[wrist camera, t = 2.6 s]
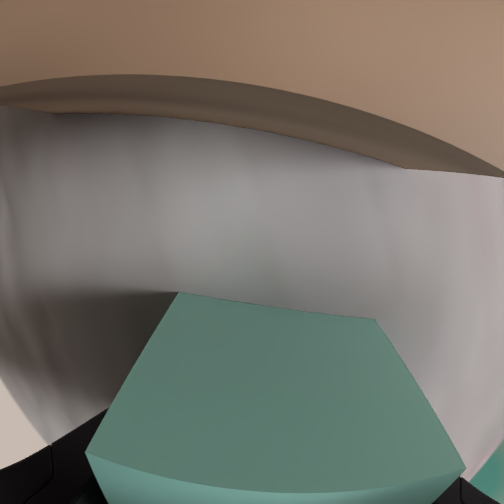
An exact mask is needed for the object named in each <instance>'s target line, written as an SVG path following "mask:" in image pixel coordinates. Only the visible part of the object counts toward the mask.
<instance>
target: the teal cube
mask: <svg viewBox="0 0 504 504" xmlns="http://www.w3.org/2000/svg"><path fill="white" fill-rule="evenodd" d="M85 453H86V456H87V458H88V461H89V463H90V466H91V468H92V470H93V472H94V475H95V477H96V479H97V481H98V484H99V486H100V488H101V490H102V492H103V494H104V496H105V498H106V500H107V502H108V504H432V503H433V502H434V501H435V500H436V499H437V498H438V497H439V496H440V495H441V494H442V493H443V492H444V491H445V490H446V489H447V488H448V487H449V486H450V485H451V484H452V483H453V482H454V481H455V480H456V479H457V478H458V477H459V476H460V475H461V474H462V473H463V472H464V470H465V469H466V467H465V465H464V463H463V461H462V459H461V457H460V455H459V454H458V452H457V450H456V448H455V446H454V445H453V443H452V441H451V439H450V438H449V436H448V434H447V432H446V431H445V429H444V427H443V425H442V424H441V422H440V420H439V419H438V417H437V415H436V413H435V412H434V410H433V408H432V407H431V405H430V403H429V402H428V400H427V399H426V397H425V395H424V394H423V392H422V390H421V389H420V387H419V386H418V384H417V382H416V381H415V379H414V378H413V376H412V374H411V373H410V371H409V370H408V368H407V367H406V365H405V364H404V362H403V360H402V359H401V357H400V356H399V354H398V353H397V351H396V350H395V348H394V347H393V345H392V344H391V342H390V341H389V339H388V338H387V336H386V335H385V333H384V332H383V330H382V329H381V327H380V326H379V324H378V323H377V322H376V320H375V319H366V318H356V317H347V316H338V315H330V314H321V313H313V312H305V311H298V310H290V309H283V308H276V307H269V306H262V305H255V304H248V303H242V302H236V301H229V300H223V299H217V298H211V297H205V296H199V295H194V294H188V293H182V292H178V294H177V296H176V297H175V299H174V300H173V302H172V304H171V305H170V307H169V308H168V310H167V312H166V313H165V315H164V316H163V318H162V320H161V321H160V323H159V325H158V326H157V328H156V329H155V331H154V333H153V334H152V336H151V338H150V339H149V341H148V343H147V344H146V346H145V348H144V349H143V351H142V353H141V354H140V356H139V358H138V359H137V361H136V363H135V364H134V366H133V368H132V369H131V371H130V373H129V375H128V376H127V378H126V380H125V381H124V383H123V385H122V387H121V388H120V390H119V392H118V393H117V395H116V397H115V399H114V400H113V402H112V404H111V406H110V407H109V409H108V411H107V413H106V415H105V416H104V418H103V420H102V422H101V424H100V425H99V427H98V429H97V431H96V433H95V434H94V436H93V438H92V440H91V442H90V444H89V445H88V447H87V449H86V451H85Z"/></svg>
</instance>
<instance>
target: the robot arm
mask: <svg viewBox="0 0 504 504" xmlns="http://www.w3.org/2000/svg"><path fill="white" fill-rule="evenodd" d="M108 409H109V408H107V409H106V410H104V411H103V412H101V413H99V414H98V415H96V416H95V417H93V418H92V419H90V420H89V421H87V422H85V423H84V424H82V425H81V426H79V427H78V428H76V429H74V430H73V431H71V432H70V433H68V434H66V435H65V436H63V437H61V438H60V439H58V440H57V441H55V442H53V443H52V444H51V445H48V446H46V447H45V448H43V449H41V450H40V451H38V452H36V453H34V454H32V455H31V456H29V457H27V458H25V459H23V460H21V461H19V462H17V463H14V464H12V465H10V466H8V467H5V468H3V469H0V504H108V502H107V500H106V498H105V496H104V494H103V492H102V490H101V488H100V486H99V484H98V481H97V479H96V477H95V475H94V472H93V470H92V468H91V466H90V463H89V461H88V458H87V456H86V453H85V451H86V449H87V447H88V445H89V444H90V442H91V440H92V438H93V436H94V434H95V433H96V431H97V429H98V427H99V425H100V424H101V422H102V420H103V418H104V416H105V415H106V413H107V411H108ZM432 504H500V503H498V502H497V501H495V500H493V499H492V498H490V497H489V496H487V495H486V494H484V493H483V492H481V491H480V490H478V489H477V488H476V487H474V486H473V485H472V484H470V483H469V482H468V481H466V480H465V479H464V478H463V477H461V478H460V476H459V477H458V478H457V479H456V480H455V481H454V482H453V483H452V484H451V485H450V486H449V487H448V488H447V489H446V490H445V491H444V492H443V493H442V494H441V495H440V496H439V497H438V498H437V499H436V500H435V501H434V502H433V503H432Z"/></svg>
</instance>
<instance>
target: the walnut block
mask: <svg viewBox="0 0 504 504" xmlns="http://www.w3.org/2000/svg"><path fill="white" fill-rule="evenodd" d="M0 105H2V106H10V107H17V108H24V109H30V110H37V111H43V112H48V113H109V114H130V115H146V116H158V117H169V118H179V119H188V120H196V121H204V122H211V123H218V124H225V125H232V126H238V127H244V128H249V129H255V130H260V131H266V132H271V133H276V134H281V135H286V136H290V137H295V138H299V139H304V140H308V141H312V142H316V143H320V144H325V145H328V146H332V147H336V148H340V149H344V150H347V151H351V152H355V153H358V154H362V155H365V156H368V157H372V158H375V159H378V160H381V161H385V162H388V163H391V164H394V165H397V166H400V167H403V168H406V169H418V170H433V171H446V172H457V173H467V174H477V175H486V176H494V177H502V178H504V0H0Z"/></svg>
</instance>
